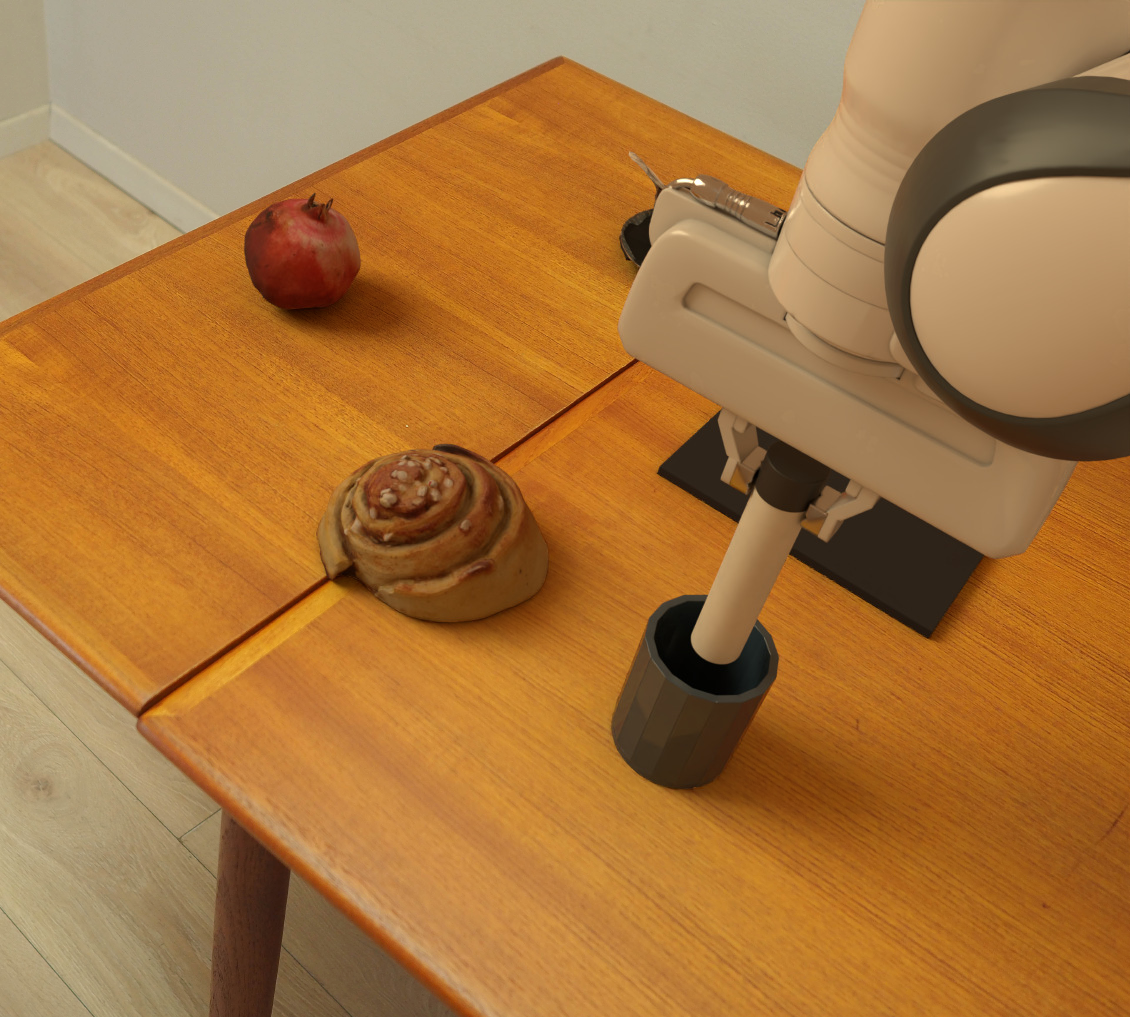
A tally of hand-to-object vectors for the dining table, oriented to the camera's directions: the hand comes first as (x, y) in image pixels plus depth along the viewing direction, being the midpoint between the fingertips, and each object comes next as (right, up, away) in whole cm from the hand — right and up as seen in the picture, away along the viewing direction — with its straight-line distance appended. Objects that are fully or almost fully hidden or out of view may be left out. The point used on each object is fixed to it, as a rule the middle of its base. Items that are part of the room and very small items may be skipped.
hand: (779, 505), depth 55 cm
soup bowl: (+7, +23, +52) cm, 57 cm away
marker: (-1, -8, +8) cm, 11 cm away
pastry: (-17, -3, +23) cm, 29 cm away
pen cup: (-2, -14, +15) cm, 20 cm away
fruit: (-28, +17, +41) cm, 53 cm away
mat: (+14, +1, +32) cm, 35 cm away
